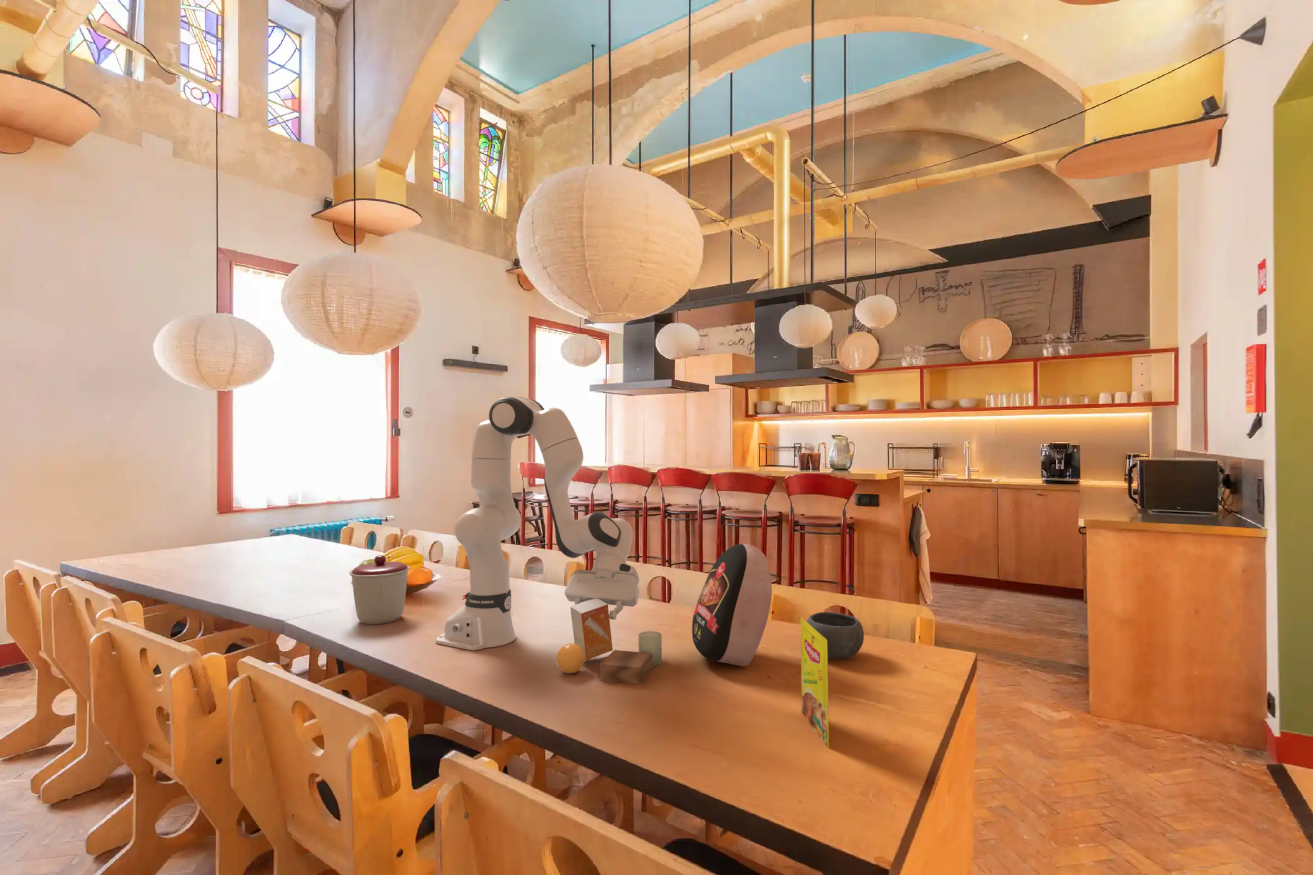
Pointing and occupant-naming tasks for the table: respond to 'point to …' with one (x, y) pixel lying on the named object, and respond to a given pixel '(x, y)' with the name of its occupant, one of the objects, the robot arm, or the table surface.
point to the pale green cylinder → (651, 645)
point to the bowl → (838, 633)
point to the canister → (379, 590)
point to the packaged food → (733, 606)
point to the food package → (815, 680)
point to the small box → (592, 627)
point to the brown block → (626, 667)
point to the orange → (570, 658)
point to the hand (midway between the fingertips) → (594, 616)
